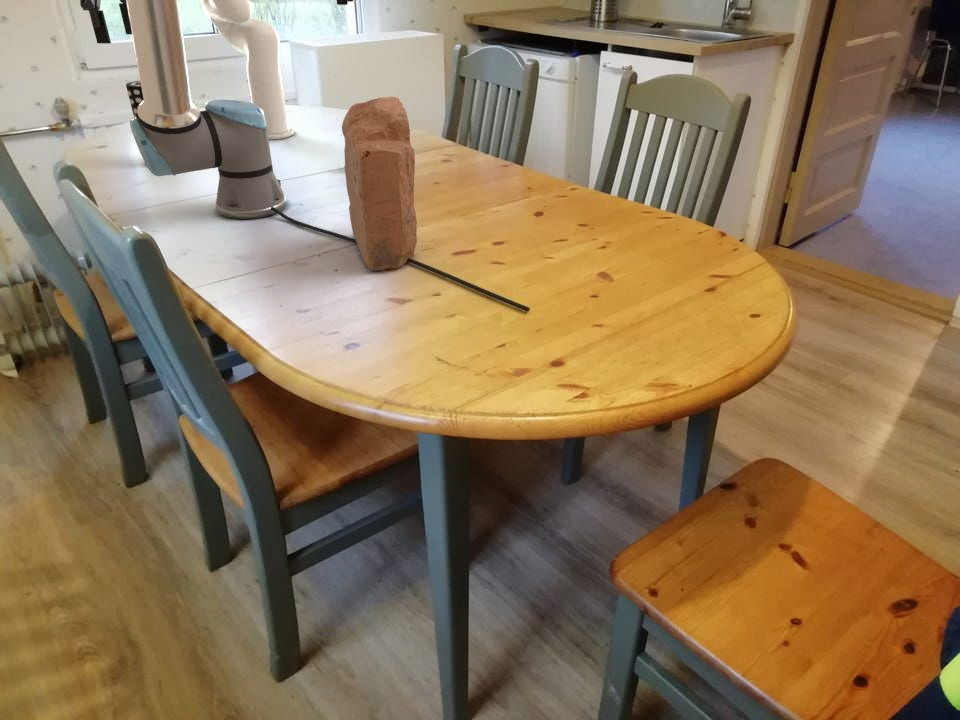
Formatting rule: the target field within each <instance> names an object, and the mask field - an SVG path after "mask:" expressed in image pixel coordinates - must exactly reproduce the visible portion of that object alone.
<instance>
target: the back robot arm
mask: <svg viewBox="0 0 960 720" xmlns="http://www.w3.org/2000/svg"><path fill="white" fill-rule="evenodd" d="M348 2H350V3H351V2H354V0H336V5H337V6H347V5H348V4H349V3H348ZM201 6H202V9H203V11H204V13H205V15H206V16H207V18H208V19H209V21H211V23H212V24H213V26H214V27H215V28H216V29H217V31H218V32H219V33H220V35H221V36H222V37H223V38H224V39H225V41H226V42H227V43H228V44H229V45H230V46H231V48H233V49H234V50H235V51H237V52H239V53H241V54H245V55H247V59H246V76H247V82H248V89H249V93H250V100H251V103H253V104H255V105H257V106H259V107H260V108H261V109H262V110H263V112H264V117H265V121H266V125H267V127H268V129H267V133H268V140H269V141H270V140H281V139H286V138H290V137H292V136H293V135H294V134H295V129H294V128H293V127H291V126H289V124H288V116H287V109H286V100H285V93H284V87H283V80H282V73H281V61H280V60H281V59H280V58H281V55H280V54H281V43H280V36H279V34H278V32H277V30H276V29H275V28H274V27H273V26H272V25H271V24H270V23H268V22H266V21H263V20H259V19H254V18H251V17H252V14H253V5H252V3H251V1H250V0H201Z"/></svg>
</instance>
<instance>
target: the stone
mask: <svg viewBox="0 0 960 720" xmlns="http://www.w3.org/2000/svg"><path fill="white" fill-rule="evenodd" d="M403 105H404V104H403V102H401V101H400V98H399V97H398V96H397V97H396V96H385V97H384V96H383V97H377V98H374V99H369V100H367V101H365V102H357V103H354V104H353V105H351V107H349V109H348V110H347V112H346V114H345V116H344V118H343V120H342V124H341V132H342V135H343V137H344V150H343V151H344V152H343V153H344V173H345V182H346V192H347V196H348V200H349V206H348V212H349V220H350V225H351V230H352V234H353V237H354V239H356V242H357V243H356V245H357V247H358V249H359V251H360V255H361V258H362V260H363V261H364V263H365V264H366V266H367V268H368V269H369V270H370V271H384V270H385V269H386V270H387V269H398V268H400V267H403V266H404V265H405V264H406V263H407V260H408V258H410V259H413V258H414V257H415V250H416V246H417V243H418V236H417V233H418V232H417V231H418V229H417V227H418V226H417V224H418V222H417V216H416V215H417V214H416V213H417V212H416V208H415V173H416V172H415V171H416V169H415V167H416V166H415V163H416V155H415V148H414V147H413V146H412V143H411V129H410V123H409V118H408V114H407V110H406V108H405V107H404V106H403Z"/></svg>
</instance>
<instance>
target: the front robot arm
mask: <svg viewBox="0 0 960 720" xmlns="http://www.w3.org/2000/svg"><path fill="white" fill-rule="evenodd" d="M101 2H102V0H79V5H80V7H81V9H82V10H83V11H86V12H87V11H88V13H89V17H90V21H91V24H92V29H93V32H94V36H95V39H96V43H97V44H105V45H106V44H107V45H109V44H112V41H111V37H110V33H109V29H108V26H107V21H106V18H105V13H104V10H101V4H102V3H101ZM119 2H120V3H118V6H119V11H120V16H121V18H122V19H121V20H122V23H123V27H124V31H125V35H132V40H133V47H134V52H135V58H136V63H137V70H138V76H139V81H141V87H142V93H143V99H144V101H143V102H142V103H140V104H139V106H138V109H137V113H138V118H139V119H138V118H134V117H133V119H131V120H130V121H129V126H130V130H131V132H132V133H131V134H132V135H133V138H134V140H135V144H136V145H137V148H138V150H139V153H140V155H141V157H142V160H143V161H144V164H145V165H146V167H147V169H148V170H149V172H150V173H151V174H152V175H154V176H156V177H165V176H166V177H167V176H177V175H180V174H187V173H193V172H198V171H205V170H210V169H216V168H217V169H218V170H217V172H218V185H217V193H216V200H215V206H216V210H217V213H218V214H219V215H221V216H223V217H225V218H229V219H236V220H253V219H260V218H261V219H262V218H265V217H266V218H267V217H270V216H274V215H276V214H277V215H279V216H280V217H281V218H283V219H285V220H287V222H291V223H293V224H295V225H297V226H300V227H302V228H306V229H309V230H312V231H315V232H319V233H322V234H324V235H325V234H326V235H328V236H332V237H336V238H339V239H341V240H344V241H348V242H350V243H354V244H357V242H356V239H355V238H353V237H350V236H347V235H344V234H340V233H338V232H334V231H331V230H327V229H324V228H321V227H317V226H314V225H311V224H308V223H304V222H302V221H299V220H297V219H294V218H292V217H290V216H288V215H286V214H285V213H284V212H283V210H285V209H286V207H287V199H286V194H285V193H284V191H283V189H282V184H281V180H280V179H277V177H276V175H275V172H274V167H273V160H272V154H271V148H270V140H268V133H267V129H268V127H267V125H266V121H265V117H264V112H263V110H262V109H261V108H260V107H259V106H257V105H255V104H253V103H252V102H249V101H243V100H236V99H212V100H208V101H206V102H205V106H204V109H205V110H201V109H200V107H199V106H198V105H197V103H195V102H194V101H193V100H192V98H191V97H192V96H191V90H190V88H191V87H190V81H189V72H188V65H187V56H186V55H187V54H186V48H185V39H184V32H183V23H182V22H183V21H182V15H181V6H180V0H119ZM407 262H408V263H410V264H411V265H412V264H413V265H415V266H418V267H420V268H422V269H425V270H427V271H429V272H432V273H435V274H438V275H439V276H441V277H444V278H447V279H449V280H450V281H452V282H453V281H454V282H456V283H458V284H460V285H463V286H465V287H466V288H470V289H472V290H474V291H476V292H479V293H481V294H483V295H487V296H488V297H491V298H493V299H496V300H498V301H500V302H503V303H505V304H508V305H510V306H511V307H515V308H518V309H519V310H523V311H524V312H527V313H528V312H530V310H531V308H530V307H529V306H526V305H524V304H521V303H519V302H517V301H515V300H512V299H509V298H507V297H504V296H502V295H500V294H497V293H495V292H492V291H490V290H487V289H485V288H483V287H480V286H478V285H475V284H473V283H471V282H468V281H466V280H465V279H461V278H459V277H458V276H455V275H452V274H450V273H447V272H445V271H443V270H441V269H437V268H435V267H433V266H431V265H429V264H425V263H423V262H420V261H418V260H415V259H413V258H412V259H410V258H408V260H407ZM407 262H406V263H407Z"/></svg>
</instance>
